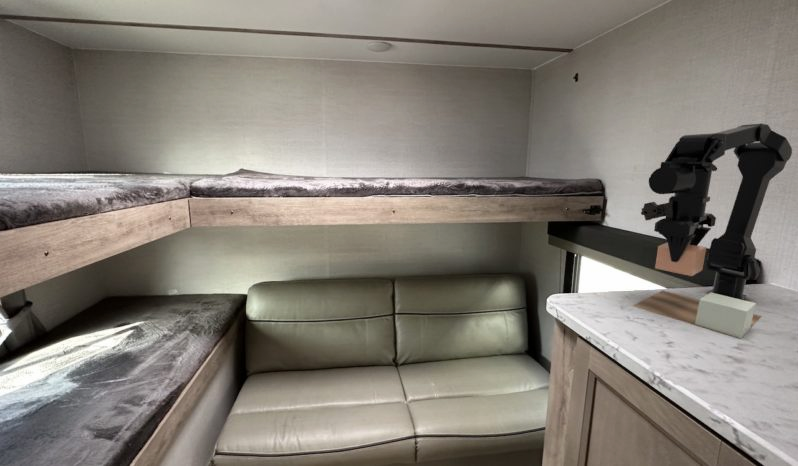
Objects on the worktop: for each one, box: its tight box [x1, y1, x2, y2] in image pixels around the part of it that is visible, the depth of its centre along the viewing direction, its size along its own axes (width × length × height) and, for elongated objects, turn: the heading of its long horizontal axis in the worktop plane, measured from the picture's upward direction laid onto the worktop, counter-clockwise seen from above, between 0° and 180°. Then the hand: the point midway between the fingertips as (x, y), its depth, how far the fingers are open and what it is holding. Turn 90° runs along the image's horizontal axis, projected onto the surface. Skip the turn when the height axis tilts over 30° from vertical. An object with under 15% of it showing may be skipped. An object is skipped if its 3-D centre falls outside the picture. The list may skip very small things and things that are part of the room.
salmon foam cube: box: [654, 241, 707, 277], centre depth 80 cm, size 7×7×6 cm
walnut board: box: [632, 290, 763, 340], centre depth 78 cm, size 18×18×1 cm
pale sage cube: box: [695, 292, 757, 339], centre depth 70 cm, size 7×7×6 cm
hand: (680, 258), depth 80 cm, fingers closed on salmon foam cube, 7 cm apart
